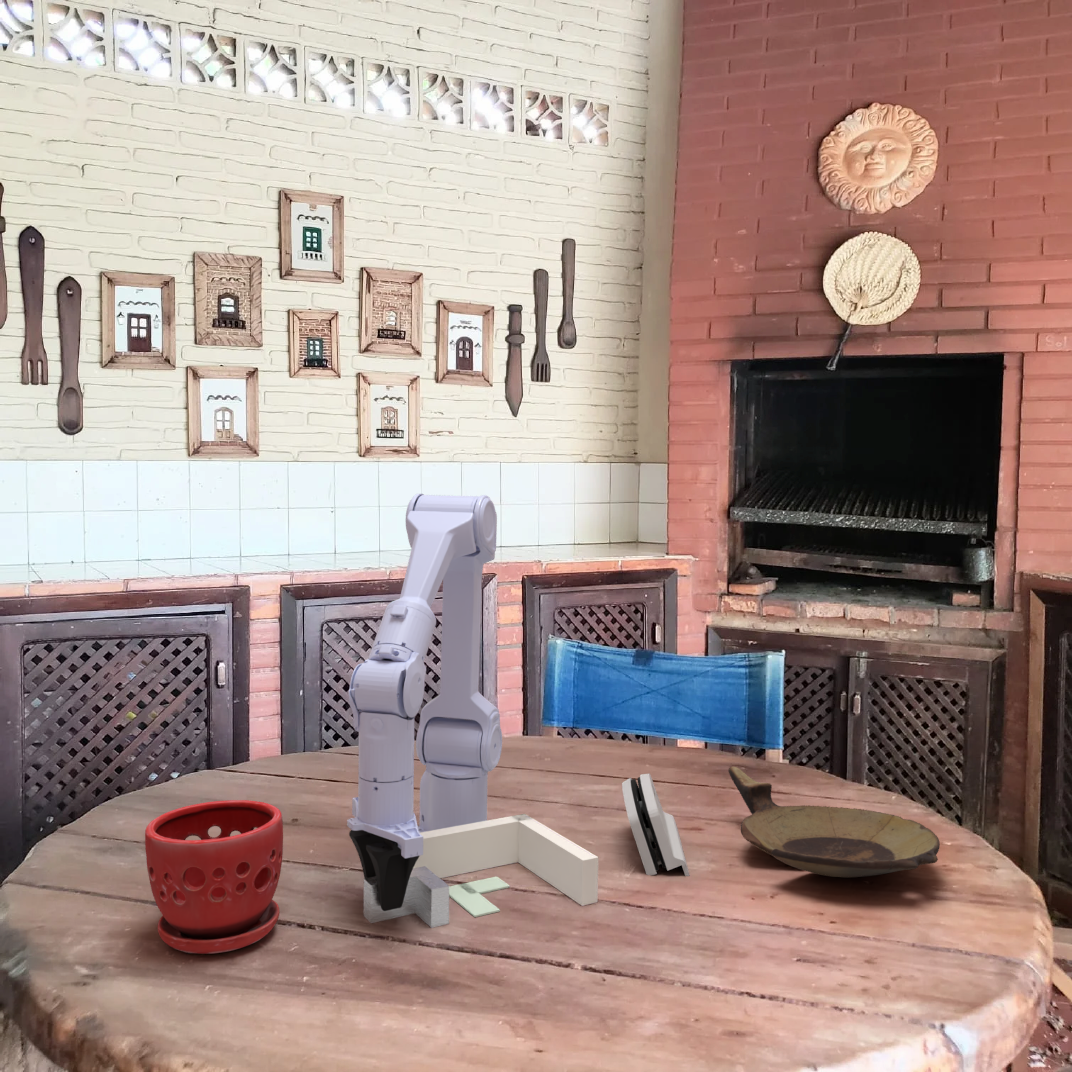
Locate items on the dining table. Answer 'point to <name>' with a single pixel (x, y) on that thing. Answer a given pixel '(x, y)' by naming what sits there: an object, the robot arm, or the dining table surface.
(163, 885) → the plant pot
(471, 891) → the mat
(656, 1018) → the dining table surface
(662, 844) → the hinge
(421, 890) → the bracket
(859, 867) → the brown frying pan
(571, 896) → the corner wall
